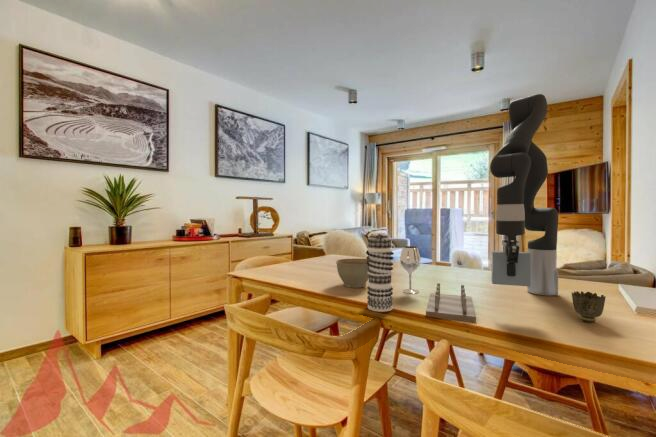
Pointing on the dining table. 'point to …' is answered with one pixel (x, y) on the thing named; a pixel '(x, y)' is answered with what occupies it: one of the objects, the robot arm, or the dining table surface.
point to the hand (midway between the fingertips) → (510, 274)
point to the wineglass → (410, 264)
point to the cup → (588, 305)
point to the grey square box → (501, 269)
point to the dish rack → (451, 306)
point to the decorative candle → (379, 272)
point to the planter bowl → (353, 272)
